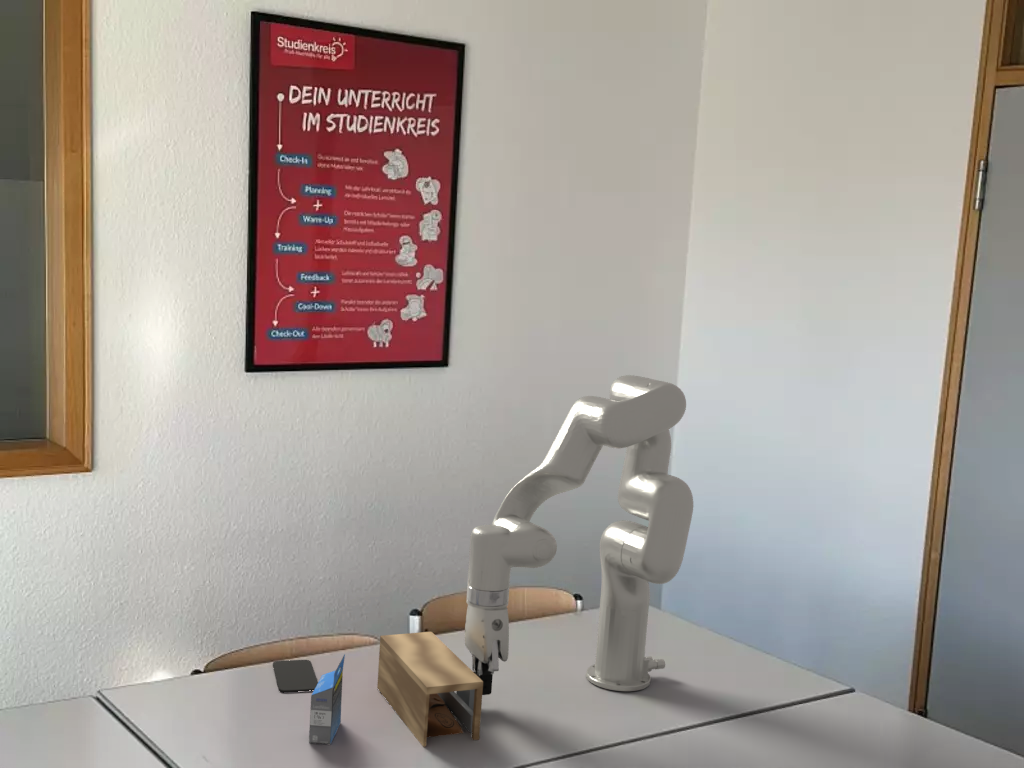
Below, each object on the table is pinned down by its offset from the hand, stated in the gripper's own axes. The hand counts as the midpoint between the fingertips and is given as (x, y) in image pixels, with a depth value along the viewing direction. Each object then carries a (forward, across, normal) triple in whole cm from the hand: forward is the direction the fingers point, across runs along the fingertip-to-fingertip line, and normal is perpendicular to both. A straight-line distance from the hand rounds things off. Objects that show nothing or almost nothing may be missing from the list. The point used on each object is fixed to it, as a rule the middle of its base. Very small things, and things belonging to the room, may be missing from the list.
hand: (481, 693), depth 201 cm
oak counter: (+3, 0, +10) cm, 11 cm away
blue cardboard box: (+3, -3, +30) cm, 30 cm away
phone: (+3, +22, +28) cm, 36 cm away
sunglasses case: (+3, -1, +10) cm, 11 cm away
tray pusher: (+2, 0, +4) cm, 4 cm away
